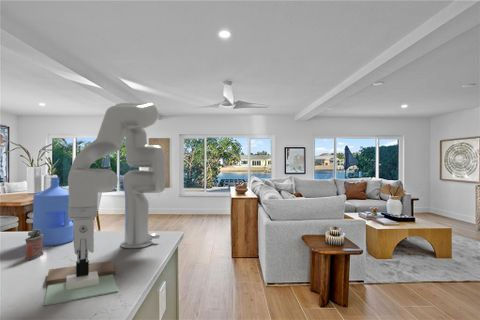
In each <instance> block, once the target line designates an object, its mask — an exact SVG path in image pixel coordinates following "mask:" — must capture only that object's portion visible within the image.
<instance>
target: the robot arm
mask: <svg viewBox="0 0 480 320" xmlns="http://www.w3.org/2000/svg"><path fill="white" fill-rule="evenodd" d="M158 114H159V113H158V109H157V107H156V105H155V104H154V103H152V102H120V103H116V104H115V105H111V106H110V107H108V108H107V109H106V111H105V114H104V117H103V119H102V121H101V124H100V127H99V130H98V133H97V137H96V139H94V141H91V142H90V143H89V144H88V145H87V146H85V147H84V148H83V149H81V150H80V152H78V154H77V155H76V156H75V157H74V160H73V162H72V164H71V167H70V169H69V173H68V176H67V183H68V191H69V204H68V219H72V222H73V240H72V241H73V249H74V254H75V255H76V256H77V258H76V259H77V260H76V261H75V264H76V265H75V266H76V277H80V276H86V275H88V274H89V264H90V262H89V253H91V254H92V253H94V251H95V246H94V245H95V222H94V221H95V220H94V219H95V218H97V217H98V203H99V202H98V201H99V200H98V199H99V198H98V197H99V195H98V193H110V192H112V191H114V189H115V188H116V187H117V185H118V180H119V178H118V175H117V174H116V172H115V171H113V170H112V169H109V168H90V166H92V164H94V163H95V162H96V161H97V160H99V159H100V160H101V158H104V157H106V156H109V155H111V154H114V153H116V152H118V151H121V149H122V147H123V145H124V141H125V158H126V159H125V160H126V163H127V165H128V166H129V167H133V168H147V169H148V168H150V169H152V170H141V169H140V170H129V171H127V172H126V173H125V174H124V175H123V178H122V185H123V191H124V240H123V241H121V242H120V247H121V248H125V249H140V248H146V247H149V246H151V245H152V243H153V240H155V239H160V237H161V235H160V233H150V232H149V216H150V214H149V211H150V210H149V207H150V206H149V200H148V199H147V196H146V195H145V194H160V193H162V192H164V191H165V190H166V189H165V188H166V183H167V181H166V176H167V175H166V154H165V150H164V148H163V147H162V146H160V145H156V144H148V138H147V136H148V135H147V131H146V130H145V129H147V128H148V127H151V126H152V125H154V124H155V123H156V122H157V120H158V116H159V115H158Z"/></svg>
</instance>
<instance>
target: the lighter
mask: <svg viewBox="0 0 480 320" xmlns="http://www.w3.org/2000/svg"><path fill="white" fill-rule="evenodd" d="M40 232H41V229H35V230H33V229H31V230H30V231H29V232H28V233H27V236H28V237H27V238H25V261H27V262H28V261H34V260H35V259H38V258H40V257H42V256H43V255H44V250H43V247H44V246H43V234H40Z"/></svg>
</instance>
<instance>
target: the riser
mask: <svg viewBox="0 0 480 320" xmlns="http://www.w3.org/2000/svg"><path fill="white" fill-rule="evenodd" d="M94 271H97V273H98V277H100V276H106V275H112V274H113V276H115V275H116V274H115V273H116V269H115V268H114V264H113V262H112V260H107V261H102V262H101V261H99V262H94V263H93V262H92V263H89V272H94ZM75 274H76V265H72V266H66V267H58V268H51V269H50V268H49V269H48V273H47V277H46V280H45V286H46V287H48V285H50V284H56V283H63V282H66V279H67V276H69V275H75Z"/></svg>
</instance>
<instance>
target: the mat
mask: <svg viewBox="0 0 480 320" xmlns="http://www.w3.org/2000/svg"><path fill="white" fill-rule="evenodd" d="M118 292H119V288H118V286H117V282H116V280H115V275H113V274H112V275H106V276H100V277H99V284H97V285H91V286H86V287H80V288H75V289H69V290H66V282H63V283H56V284H50V285H48V286H47V288H46V293H45V297H44V298H45V299H44V301H43V307H46V306H52V305H57V304H61V303H67V302H72V301H77V300H83V299H87V298H88V299H89V298H92V297H99V296H103V295H104V296H105V295H109V294H114V293H118Z"/></svg>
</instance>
